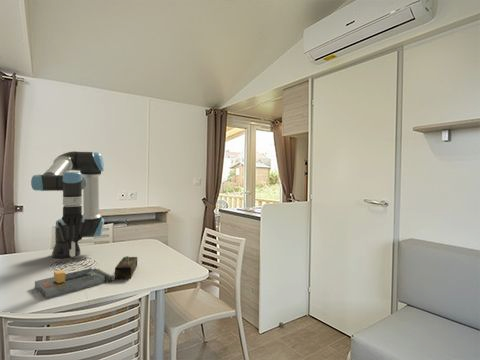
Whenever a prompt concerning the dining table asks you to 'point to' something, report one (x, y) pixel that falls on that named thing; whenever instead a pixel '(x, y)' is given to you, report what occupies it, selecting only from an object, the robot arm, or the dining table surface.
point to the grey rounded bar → (107, 276)
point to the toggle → (59, 276)
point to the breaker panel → (69, 283)
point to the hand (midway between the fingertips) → (72, 255)
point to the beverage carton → (125, 268)
